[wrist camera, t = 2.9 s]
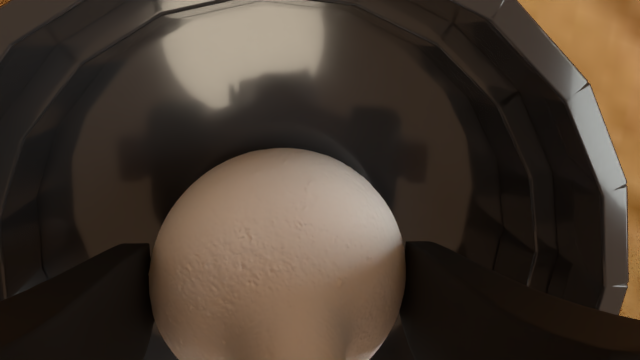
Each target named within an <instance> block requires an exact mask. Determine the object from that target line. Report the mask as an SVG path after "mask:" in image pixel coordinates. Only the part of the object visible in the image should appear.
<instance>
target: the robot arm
mask: <svg viewBox="0 0 640 360" xmlns="http://www.w3.org/2000/svg"><path fill="white" fill-rule="evenodd" d="M150 261H151V258H150V244H149V243H123V244H120V245H117V246H114V247H112V248H110V249H108V250H106V251H104V252H102V253H100V254H98V255H96V256H94V257H92V258H90V259H88V260H86V261H84V262H83V263H81V264H79V265H77V266H75V267H73V268H71V269H69V270H67V271H65V272H63V273H61V274H59V275H57V276H55V277H53V278H51V279H49V280H47V281H44V282H42V283H40V284H38V285H36V286H34V287H32V288H30V289H28V290H25V291H23V292H21V293H19V294H16V295H14V296H12V297H9V298H7V299H4V300H2V301H0V360H143V359H144V357H145V354H146V351H147V347H148V344H149V340H150V337H151V333H152V329H153V325H154V321H155V319H154V316H153V313H152V306H151V301H150V296H149V276H148V273H149V270H150ZM405 261H406V282H405V290H404V295H403V299H402V303H401V307H400V310H399V315H400V318H401V322H402V326H403V329H404V333H405V336H406V339H407V342H408V346H409V348H410V351H411V353H412V355H413V357H414V360H640V320H637V319H632V318H628V317H623V316H619V315H615V314H612V313H608V312H604V311H600V310H597V309H593V308H589V307H586V306H582V305H579V304H576V303H573V302H570V301H567V300H564V299H561V298H558V297H555V296H552V295H549V294H547V293H544V292H541V291H538V290H536V289H533V288H531V287H528V286H526V285H524V284H521V283H519V282H517V281H514V280H512V279H510V278H508V277H505V276H503V275H501V274H499V273H497V272H495V271H492V270H490V269H488V268H486V267H484V266H482V265H480V264H478V263H476V262H474V261H472V260H470V259H468V258H466V257H464V256H462V255H460V254H458V253H456V252H454V251H452V250H450V249H448V248H446V247H444V246H442V245H439V244H437V243H434V242H431V241H406V245H405Z"/></svg>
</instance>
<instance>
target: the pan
mask: <svg viewBox="0 0 640 360" xmlns="http://www.w3.org/2000/svg"><path fill="white" fill-rule="evenodd" d="M273 148H294V149H304V150H309V151H313V152H317V153H320V154H323V155H327V156H330V157H332V158H334V159H336V160H338V161H340V162H343V163H344V164H345V165H347V166H349V167H351V168H352V169H353V170H354V171H356V172H357V173H359V174H360V175H361V176H363V177H364V178H365V179H366V180H367V181H368V182H369V183H370V184H371V185H372V187H373V188H374V189H375V190H376V191H377V192H378V193H379V194H380V195H381V197H382V198H383V199H384V201H385V202H386V204H387V206H388V207H389V209H390V211H391V212H392V214H393V216H394V219H395V220H396V222H397V225H398V228H399V231H400V234H401V237H402V241H403V246H404V251H405V245H406V241H431V242H434V243H437V244H439V245H442V246H444V247H446V248H448V249H450V250H452V251H454V252H456V253H458V254H460V255H462V256H464V257H466V258H468V259H470V260H472V261H474V262H476V263H478V264H480V265H482V266H484V267H486V268H488V269H490V270H492V271H495V272H497V273H499V274H501V275H503V276H505V277H508V278H510V279H512V280H514V281H517V282H519V283H521V284H524V285H526V286H528V287H531V288H533V289H536V290H538V291H541V292H544V293H547V294H549V295H552V296H555V297H558V298H561V299H564V300H567V301H570V302H573V303H576V304H579V305H582V306H586V307H589V308H593V309H597V310H600V311H604V312H608V313H612V314H615V315H619V313H620V310H621V307H622V303H623V300H624V297H625V294H626V291H627V288H628V285H627V283H628V282H629V272H628V196H627V185H626V184H627V180H626V178H625V175H624V172H623V170H622V167H621V164H620V162H619V159H618V157H617V154H616V151H615V149H614V146H613V143H612V141H611V138H610V135H609V133H608V130H607V127H606V125H605V122H604V119H603V117H602V114H601V111H600V109H599V106H598V104H597V101H596V98H595V96H594V93H593V90H592V88H591V85H590V84H589V83H588V81H587V79H586V78H585V77H584V76H583V75H582V74H581V72H580V71H579V70H578V69H577V68H576V67H575V66H574V64H573V63H572V62H571V61H570V60H569V59H568V58H567V57H566V55H565V54H564V53H563V52H562V51H561V50H560V49H559V47H558V46H557V45H556V44H555V43H554V42H553V41H552V39H551V38H550V37H549V36H548V35H547V34H546V33H545V32H544V30H543V29H542V28H541V27H540V26H539V25H538V24H537V22H536V21H535V20H534V19H533V18H532V17H531V16H530V14H529V13H528V12H527V11H526V10H525V9H524V8H523V7H522V5H521V4H520V3H519V2H518V1H517V0H10V1H8V2H7V3H5V4H4V5H2V6H1V7H0V301H2V300H4V299H7V298H9V297H12V296H14V295H16V294H19V293H21V292H23V291H25V290H28V289H30V288H32V287H34V286H36V285H38V284H40V283H42V282H44V281H47V280H49V279H51V278H53V277H55V276H57V275H59V274H61V273H63V272H65V271H67V270H69V269H71V268H73V267H75V266H77V265H79V264H81V263H83V262H84V261H86V260H88V259H90V258H92V257H94V256H96V255H98V254H100V253H102V252H104V251H106V250H108V249H110V248H112V247H114V246H117V245H120V244H123V243H149V244H150V258H151V257H152V251H153V248H154V244H155V241H156V239H157V236H158V233H159V231H160V229H161V226H162V225H163V222H164V220H165V219H166V216H167V215H168V213H169V212H170V210H171V208H172V207H173V206H174V204H175V203H176V201H177V200H178V199H179V198H180V197H181V196H182V194H183V193H184V192H185V191H186V190H187V189H188V188H189V187H190V186H191V185H192V184H193V183H194V182H195V181H196V180H198V179H199V178H200V177H201V176H202V175H204V174H205V173H206V172H208V171H209V170H211V169H212V168H214V167H216V166H217V165H219V164H221V163H223V162H225V161H227V160H229V159H232V158H234V157H237V156H239V155H243V154H245V153H248V152H252V151H257V150H266V149H273ZM143 360H179V359H178V358H177V357H176V356H175V355H174V353H173V352H172V351H171V349H170V348H169V347H168V345H167V344H166V342H165V341H164V339H163V337H162V335H161V334H160V332H159V330H158V327H157V325H156V322H155V321H154V325H153V329H152V333H151V337H150V340H149V344H148V347H147V351H146V354H145V357H144V359H143ZM369 360H414V357H413V355H412V353H411V351H410V348H409V346H408V342H407V339H406V336H405V333H404V329H403V326H402V322H401V318H400V315H399V313H398V315H397V318H396V320H395V323H394V325H393V327H392V329H391V330H390V332H389V334H388V336H387V337H386V339H385V340H384V342H383V343H382V345H381V346H380V348H379V349H378V350H377V351H376V352H375V354H374V355H373V356H372V357H371V358H370V359H369Z"/></svg>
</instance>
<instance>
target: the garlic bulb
mask: <svg viewBox="0 0 640 360" xmlns="http://www.w3.org/2000/svg"><path fill="white" fill-rule="evenodd" d="M148 276H149V296H150V301H151V306H152V313H153V316H154V319H155V322H156V325H157V327H158V330H159V332H160V334H161V335H162V337H163V339H164V341H165V342H166V344H167V345H168V347H169V348H170V349H171V351H172V352H173V353H174V355H175V356H176V357H177V358H178V359H179V360H369V359H370V358H371V357H372V356H373V355H374V354H375V352H376V351H377V350H378V349H379V348H380V346H381V345H382V343H383V342H384V340H385V339H386V337H387V336H388V334H389V332H390V330H391V329H392V327H393V325H394V323H395V320H396V318H397V315H398V313H399V310H400V307H401V303H402V299H403V295H404V290H405V282H406V261H405V251H404V246H403V241H402V237H401V234H400V231H399V228H398V225H397V222H396V220H395V219H394V216H393V214H392V212H391V211H390V209H389V207H388V206H387V204H386V202H385V201H384V199H383V198H382V197H381V195H380V194H379V193H378V192H377V191H376V190H375V189H374V188H373V187H372V185H371V184H370V183H369V182H368V181H367V180H366V179H365V178H364V177H363V176H361V175H360V174H359V173H357V172H356V171H354V170H353V169H352V168H351V167H349V166H347V165H345V164H344V163H343V162H340V161H338V160H336V159H334V158H332V157H330V156H327V155H323V154H320V153H317V152H313V151H309V150H304V149H294V148H273V149H266V150H257V151H252V152H248V153H245V154H243V155H239V156H237V157H234V158H232V159H229V160H227V161H225V162H223V163H221V164H219V165H217V166H216V167H214V168H212V169H211V170H209V171H208V172H206V173H205V174H204V175H202V176H201V177H200V178H199V179H198V180H196V181H195V182H194V183H193V184H192V185H191V186H190V187H189V188H188V189H187V190H186V191H185V192H184V193H183V194H182V196H181V197H180V198H179V199H178V200H177V201H176V203H175V204H174V206H173V207H172V208H171V210H170V212H169V213H168V215H167V216H166V219H165V220H164V222H163V225H162V226H161V229H160V231H159V233H158V236H157V239H156V241H155V244H154V248H153V251H152V257H151V261H150V270H149V273H148Z"/></svg>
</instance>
